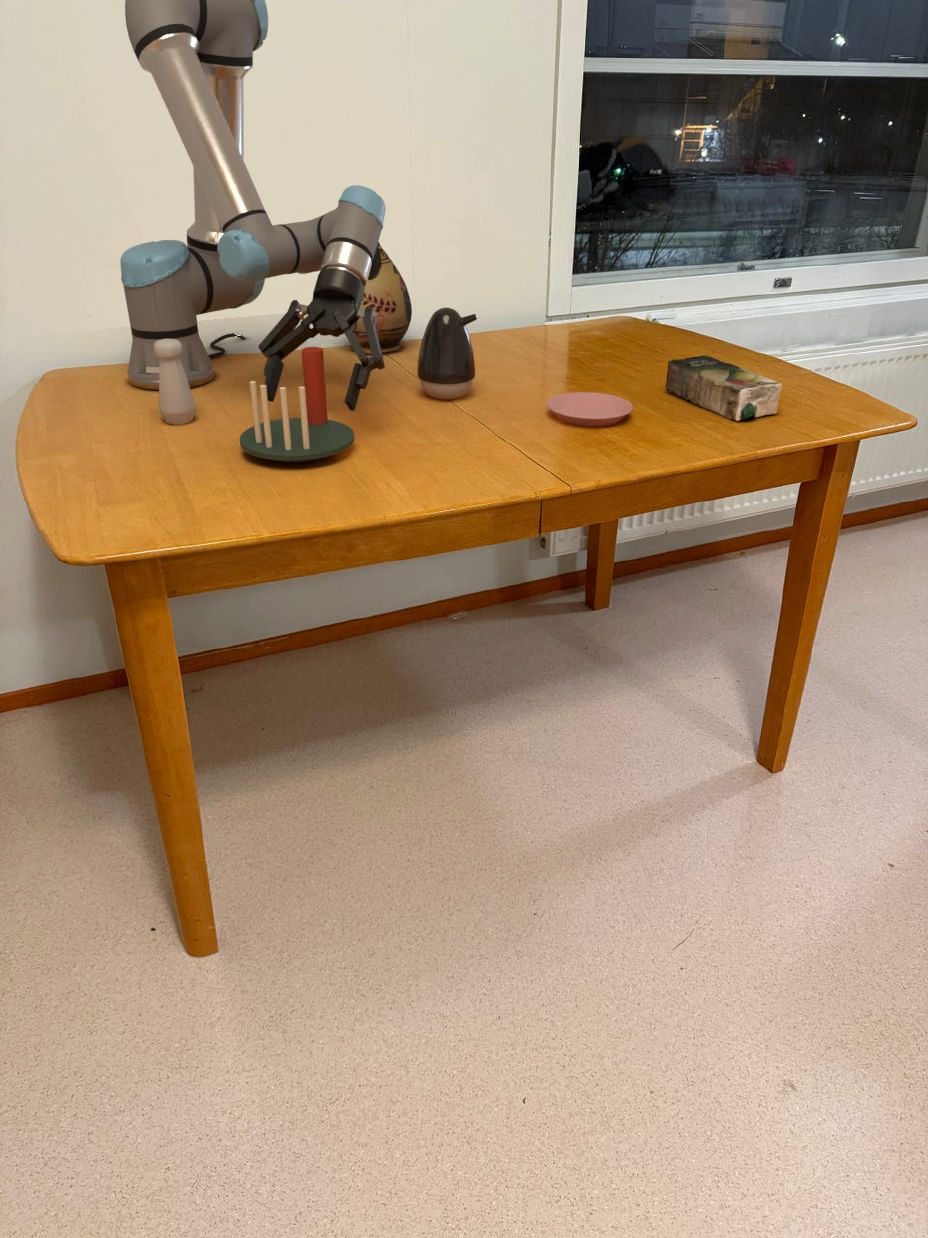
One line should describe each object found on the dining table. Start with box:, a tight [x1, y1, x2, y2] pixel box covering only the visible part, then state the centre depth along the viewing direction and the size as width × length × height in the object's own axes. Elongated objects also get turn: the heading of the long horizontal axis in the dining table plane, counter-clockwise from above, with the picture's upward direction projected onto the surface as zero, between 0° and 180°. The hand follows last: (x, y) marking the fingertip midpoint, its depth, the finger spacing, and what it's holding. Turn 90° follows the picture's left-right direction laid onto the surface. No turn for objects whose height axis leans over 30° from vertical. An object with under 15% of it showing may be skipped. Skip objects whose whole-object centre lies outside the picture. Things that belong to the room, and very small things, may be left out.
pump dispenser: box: [416, 307, 478, 401], centre depth 160 cm, size 10×10×15 cm
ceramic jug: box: [350, 241, 413, 355], centre depth 183 cm, size 17×15×30 cm
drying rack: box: [239, 346, 355, 462], centre depth 135 cm, size 17×17×13 cm
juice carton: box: [665, 354, 783, 422], centre depth 160 cm, size 20×10×6 cm, turn 29°
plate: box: [546, 391, 634, 427], centre depth 154 cm, size 14×14×2 cm
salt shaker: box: [154, 339, 197, 426], centre depth 147 cm, size 6×6×13 cm
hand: (308, 401), depth 140 cm, fingers open, 13 cm apart
